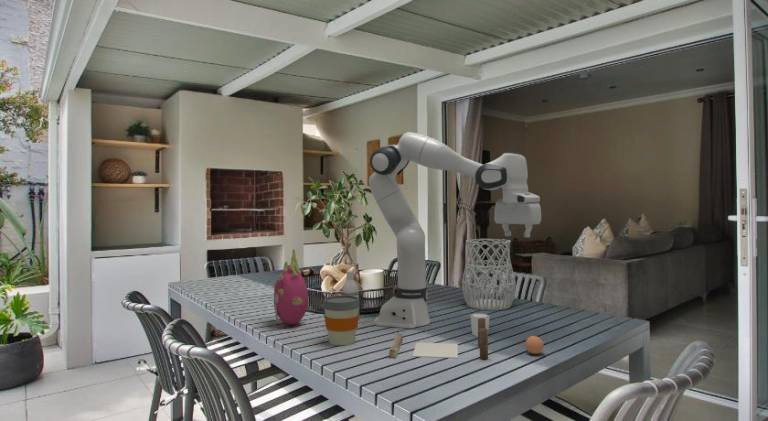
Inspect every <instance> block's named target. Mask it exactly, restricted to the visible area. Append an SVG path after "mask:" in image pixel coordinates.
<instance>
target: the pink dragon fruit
mask: <svg viewBox="0 0 768 421" xmlns="http://www.w3.org/2000/svg"><path fill="white" fill-rule="evenodd" d="M290 260H291V261H290V264H288V261H285V262H284V263H283V264H284V265H283V269H282V273H279V274H278V277H277V280H276V282H274V283H273V308H274V316H275V320H276V322H277V323H278V322H279V319H280V320H281V321H282V322H283V323H284V324H285V325H289V326H293V325H297V324H298V323H300V322H301V321H302V319H303V318H304V316H305V314H306V311H307V308H308V304H309V294H308V293H309V292H308V287H307V283H306V282H305V279H304V277H303V275H302V274H301V271H300V267H299V263H298V259H297V255H296V250H295V249H292V256H291V259H290Z"/></svg>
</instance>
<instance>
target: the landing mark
mask: <svg viewBox="0 0 768 421" xmlns="http://www.w3.org/2000/svg"><path fill="white" fill-rule="evenodd" d="M458 350H459V343H446V342H441V343H440V342H416V343H415V346H414V350H413V353H412V358H413V357H414V358H415V357H416V358H417V357H420V358H442V359H459V358H458V356H459V355H458V354H459V352H458Z"/></svg>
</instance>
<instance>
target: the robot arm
mask: <svg viewBox="0 0 768 421" xmlns="http://www.w3.org/2000/svg"><path fill="white" fill-rule="evenodd" d="M410 162H412V163H416V164H418V165H420V166H422V167H426V168H428V169H429V168H430V169H433V170H442V171H450V172H454V173H455V172H456V173H459V174H461V175H464V176H466V177H469V178H471V179H474V181H475V182H476V184H477V185H478V187H480V188H481V189H482V190H487V191H491V192H497V191H500V190H502V198H498V199H497V200H496V202H495V207H494V222H495V224H501V228H502V229H503V232H504V236H505V237H511V236H512V231H511V230H510V229H509V226H510V225H524V227H525V231H524V232H522V233H523V238H530V237H531V232H532V230H533V225H540V224H541V222H542V209H541V205H540V201H541V198H540V196H539V195H537V194H534V193H532V192H529V185H528V176H529V172H528V163H527V159H526V157H525V156H524V155H523V154H521V153H519V152H503V154H502V155H500V156H499V157H497V158H496V159H494V160H492V161H490V162H487V163H484V164H483V163H480V162H478V161H475V160H472V159H470V158H466V157H465V156H463V155H461V154H459V153H458V152H456V151H455V150H454V149H452V148H451V147H450V146H448V145H446V143H443V142H442V141H440V140H438V139H436V138H433V137H431V136H428V135H425V134H422V133H417V132H413V131H407V132H405V133H404V134H402V135H401V137H400V138H399V140H398V143H397V144H388V145H385V146H382V147H379V148H377V149H375V150H374V151H373V152H372V153H371V156H370V159H369V164H370V165H369V166H370V167H371V169H372V171H373V173H372V174H371V175H370V176H369V177H368V185H369V188H370V191H371V194H372V195H373V196H372V197H373V198H374V200H375V202H376V204H377V206H378V208H379V210H380V212H381V213H382V215H383V217H384V219H385V221H386V222H387V225H388V226H389V227H390V229H391V231H392V232H393V234H394V236H395V238H396V251H397V252H396V257H397V258H396V259H397V260H396V261H397V281H398V282H397V285H398V286H397V285H395V286H394V287H393V288H392V292H393V293H392V295H393V296H392V297H391V298H390V299H389V300H387V301H386V302H385V303H383V305H382V306H381V307H380V311H379V315H378V316H376V317H375V318H374V320H373V324H374V325H375V326H377V327H378V326H379V327H390V328H399V329H400V328H401V329H414V328H417V327H423V326H427V325H429V324H431V320H430V315H429V310H428V304H427V301H428V288H427V285H426V284H427V281H426V280H427V277H426V276H427V274H426V272H427V270H426V267H427V266H426V234H425V231H424V230H423V228H422V226H421V223H420V222H419V220H418V219H417V217H416V215H415V213H414V211H413V210H412V208H411V206H410V204H409V202H408V200H407V199H406V197H405V195H404V193H403V191H402V189H401V187H400V185H399V184H398V182H397V176H400V174H401V173H402V172H403V171H404V170H405V169H406V168H407V167H408V165H409V164H410Z"/></svg>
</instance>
